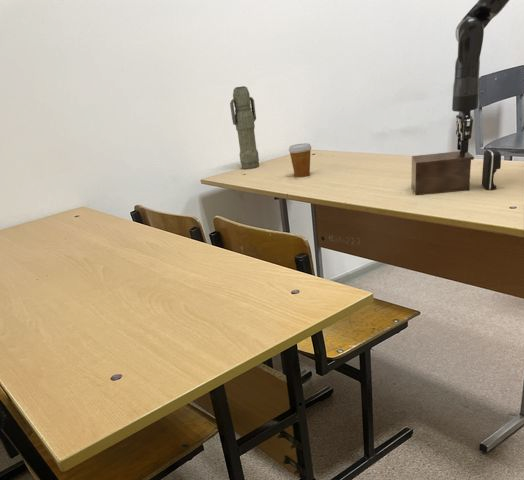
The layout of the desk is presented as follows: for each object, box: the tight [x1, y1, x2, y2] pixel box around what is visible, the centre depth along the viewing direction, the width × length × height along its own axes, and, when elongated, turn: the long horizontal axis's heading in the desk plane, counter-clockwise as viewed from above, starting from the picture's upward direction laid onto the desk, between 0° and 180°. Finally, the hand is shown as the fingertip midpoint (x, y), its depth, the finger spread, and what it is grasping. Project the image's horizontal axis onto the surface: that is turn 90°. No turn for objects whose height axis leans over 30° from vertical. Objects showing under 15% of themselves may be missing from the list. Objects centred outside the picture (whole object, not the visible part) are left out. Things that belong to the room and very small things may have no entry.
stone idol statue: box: [229, 85, 260, 170], centre depth 247 cm, size 9×12×35 cm
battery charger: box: [481, 149, 502, 190], centre depth 168 cm, size 7×4×11 cm, turn 176°
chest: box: [410, 159, 472, 196], centre depth 175 cm, size 17×12×9 cm
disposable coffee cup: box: [288, 142, 312, 178], centre depth 221 cm, size 10×10×12 cm
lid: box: [411, 140, 475, 165], centre depth 172 cm, size 18×12×5 cm
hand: (462, 150), depth 171 cm, fingers closed on lid, 5 cm apart
